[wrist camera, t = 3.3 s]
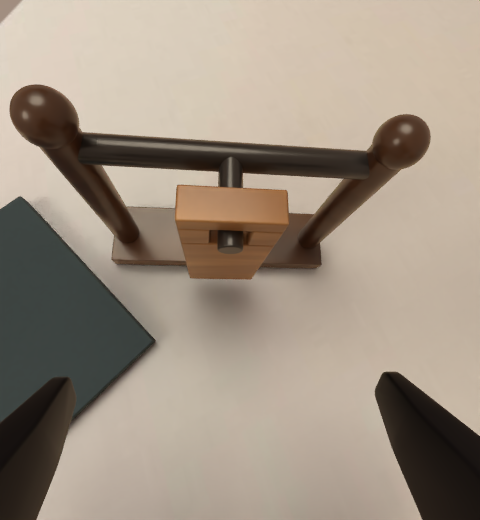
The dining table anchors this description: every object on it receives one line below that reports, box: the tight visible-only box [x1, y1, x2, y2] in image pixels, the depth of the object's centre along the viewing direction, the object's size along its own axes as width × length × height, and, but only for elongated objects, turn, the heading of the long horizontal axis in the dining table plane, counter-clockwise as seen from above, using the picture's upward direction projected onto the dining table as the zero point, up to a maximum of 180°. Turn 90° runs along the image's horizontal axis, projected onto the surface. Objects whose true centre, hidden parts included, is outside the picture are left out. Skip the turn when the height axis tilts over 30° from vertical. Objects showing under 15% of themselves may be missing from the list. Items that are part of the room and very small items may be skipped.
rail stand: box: [10, 85, 431, 269], centre depth 16 cm, size 6×15×13 cm, turn 90°
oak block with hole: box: [175, 185, 289, 279], centre depth 15 cm, size 1×4×9 cm, turn 90°
